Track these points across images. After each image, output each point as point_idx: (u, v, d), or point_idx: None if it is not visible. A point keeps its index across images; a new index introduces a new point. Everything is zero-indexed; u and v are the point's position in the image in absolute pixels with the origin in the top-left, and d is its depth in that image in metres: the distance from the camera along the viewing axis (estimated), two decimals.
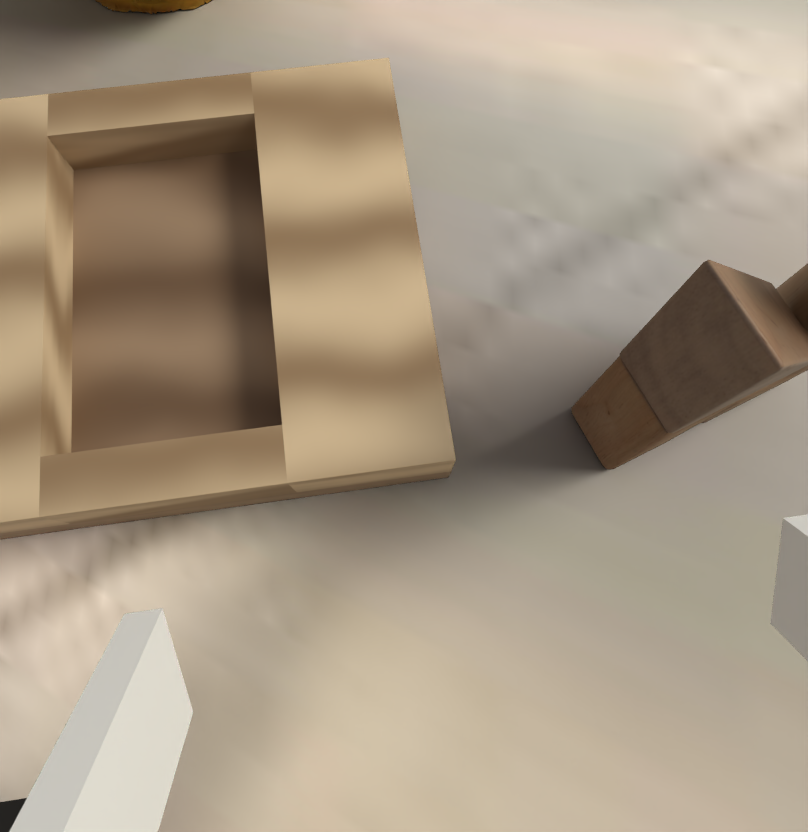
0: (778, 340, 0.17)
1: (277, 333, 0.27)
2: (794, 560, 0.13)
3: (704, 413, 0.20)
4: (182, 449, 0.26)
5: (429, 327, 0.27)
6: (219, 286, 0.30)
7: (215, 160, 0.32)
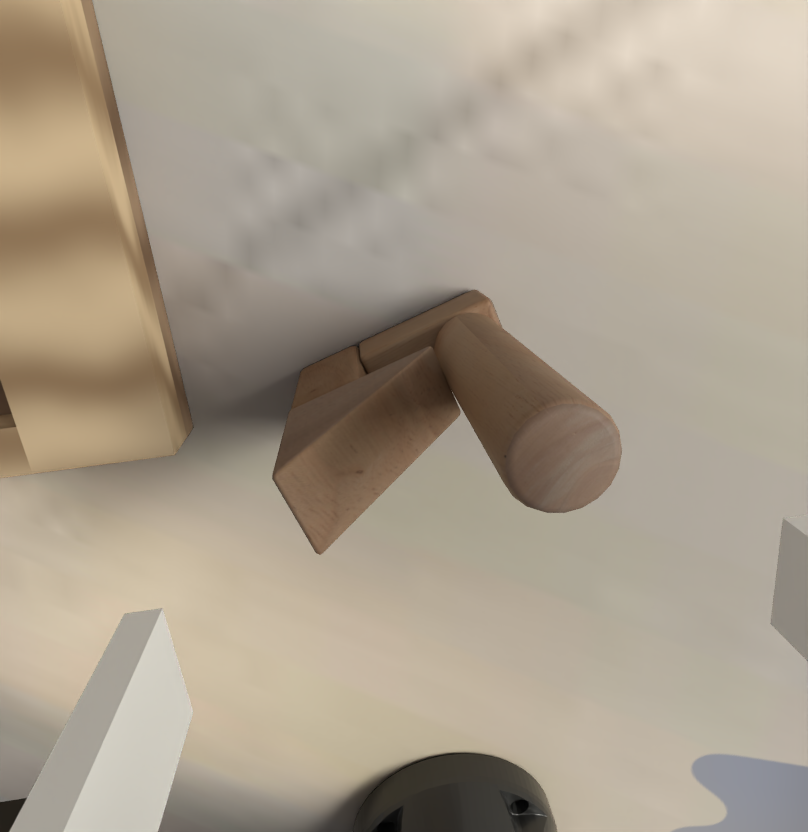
0: (342, 509, 0.23)
1: None
2: (794, 560, 0.13)
3: None
4: None
5: (141, 337, 0.29)
6: None
7: None
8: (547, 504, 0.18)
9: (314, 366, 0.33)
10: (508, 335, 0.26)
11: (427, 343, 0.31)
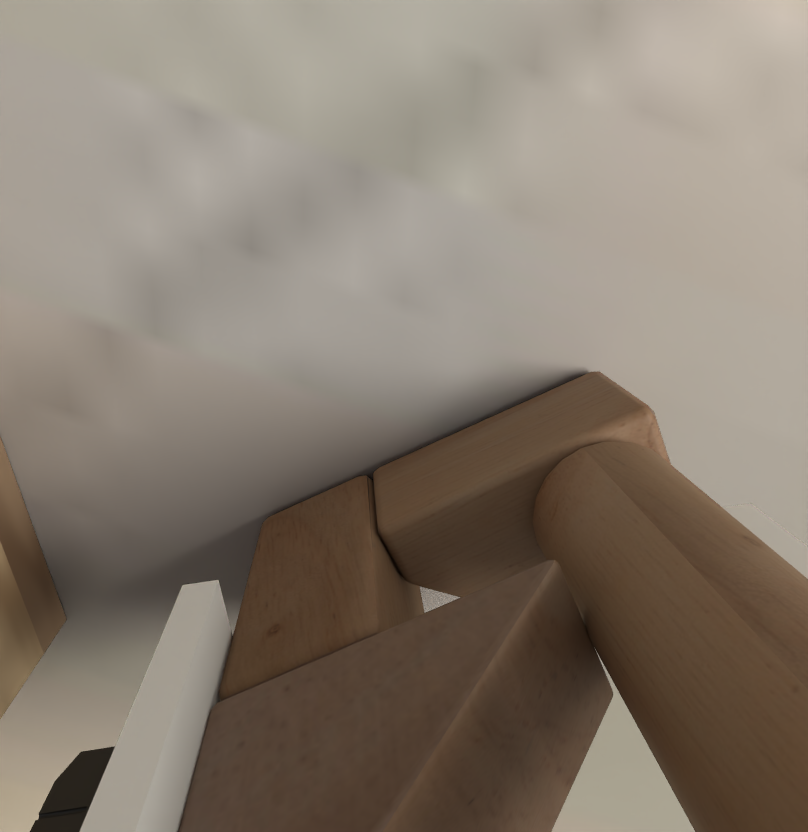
0: None
1: None
2: None
3: None
4: None
5: None
6: None
7: None
8: None
9: (287, 520, 0.17)
10: (779, 562, 0.10)
11: (518, 499, 0.15)
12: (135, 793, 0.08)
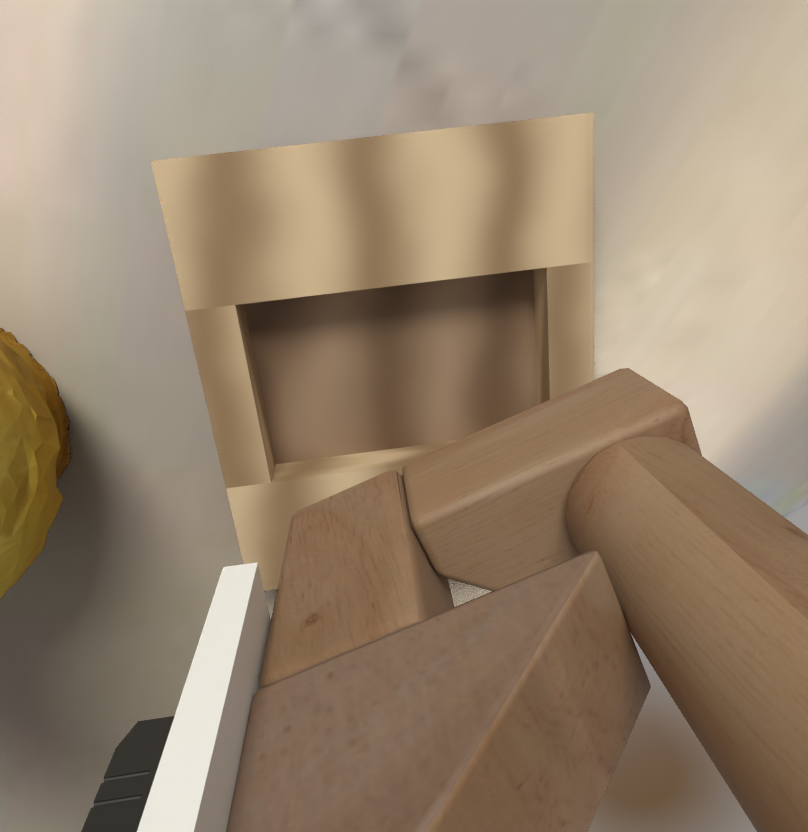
0: None
1: (466, 274, 0.31)
2: None
3: None
4: (557, 345, 0.33)
5: (469, 130, 0.29)
6: (391, 330, 0.35)
7: (259, 344, 0.34)
8: None
9: (317, 513, 0.17)
10: None
11: (551, 493, 0.15)
12: (200, 755, 0.09)
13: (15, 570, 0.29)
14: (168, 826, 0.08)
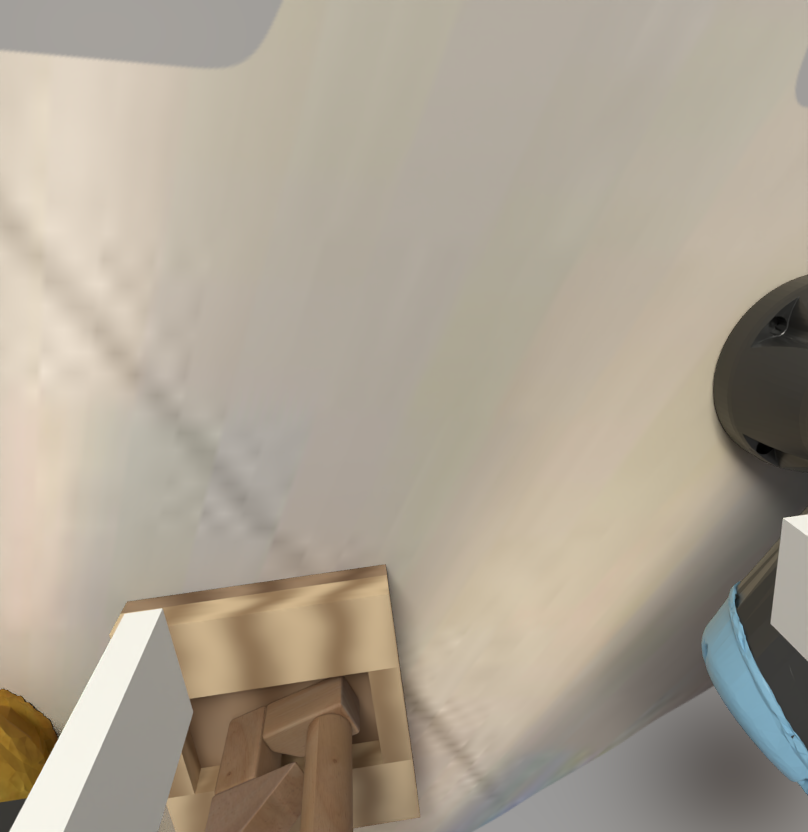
0: None
1: (315, 678, 0.49)
2: (794, 560, 0.13)
3: None
4: (380, 710, 0.51)
5: (309, 607, 0.47)
6: (275, 691, 0.52)
7: None
8: None
9: (237, 724, 0.51)
10: (335, 768, 0.44)
11: (303, 728, 0.49)
12: None
13: None
14: None
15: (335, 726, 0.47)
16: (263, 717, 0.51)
